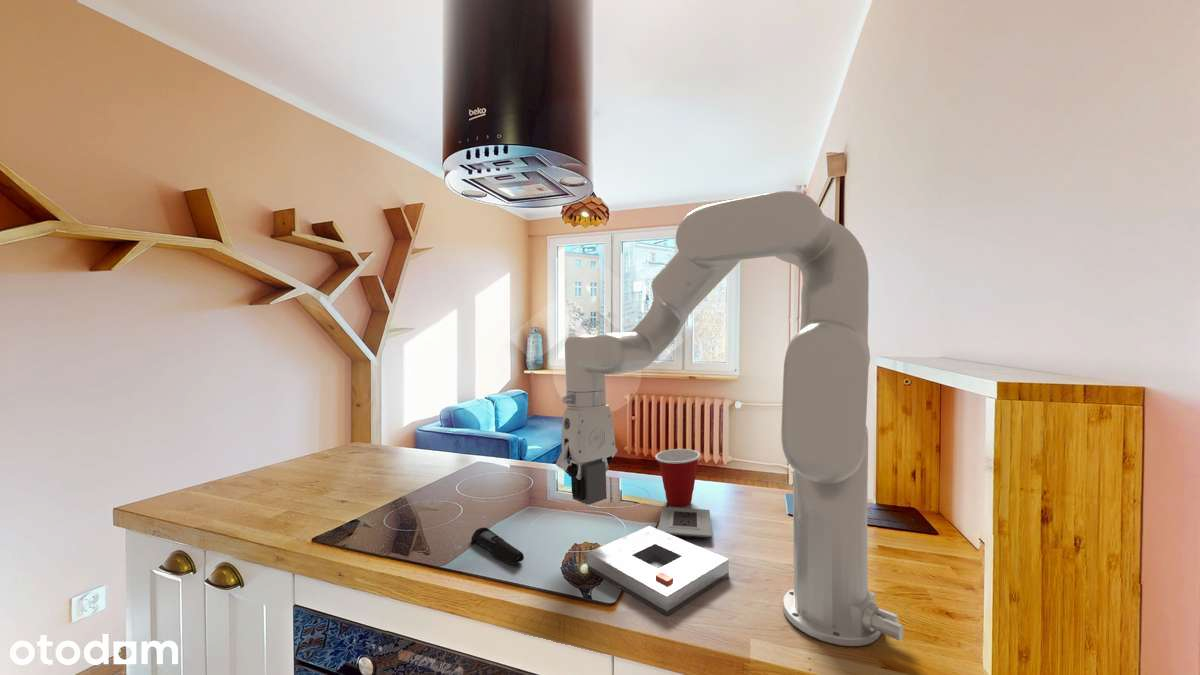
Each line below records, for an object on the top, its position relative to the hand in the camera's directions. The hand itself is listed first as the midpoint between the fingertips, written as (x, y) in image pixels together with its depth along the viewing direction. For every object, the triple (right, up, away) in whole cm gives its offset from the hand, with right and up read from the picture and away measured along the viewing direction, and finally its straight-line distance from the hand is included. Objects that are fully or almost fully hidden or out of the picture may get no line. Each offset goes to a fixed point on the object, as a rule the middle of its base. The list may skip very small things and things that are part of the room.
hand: (589, 493), depth 87 cm
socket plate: (+12, -11, -9) cm, 18 cm away
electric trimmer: (-17, -11, 0) cm, 21 cm away
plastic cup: (+21, -10, +23) cm, 33 cm away
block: (0, -1, 0) cm, 1 cm away
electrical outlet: (+20, -11, +9) cm, 25 cm away
